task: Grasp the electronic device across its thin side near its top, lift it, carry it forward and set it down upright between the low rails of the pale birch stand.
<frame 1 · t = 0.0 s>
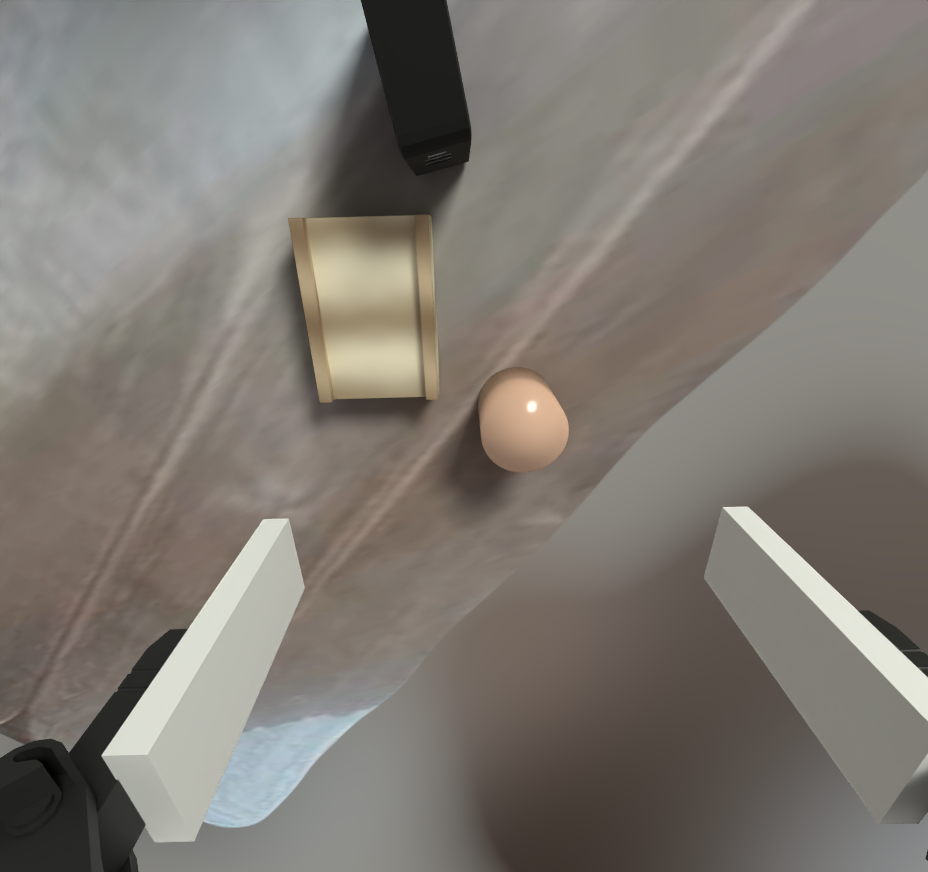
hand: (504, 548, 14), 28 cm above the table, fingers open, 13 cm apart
stand: (377, 308, 38), on the table
electronic device: (425, 92, 32), on the table
peach rounded cylinder: (514, 403, 42), on the table
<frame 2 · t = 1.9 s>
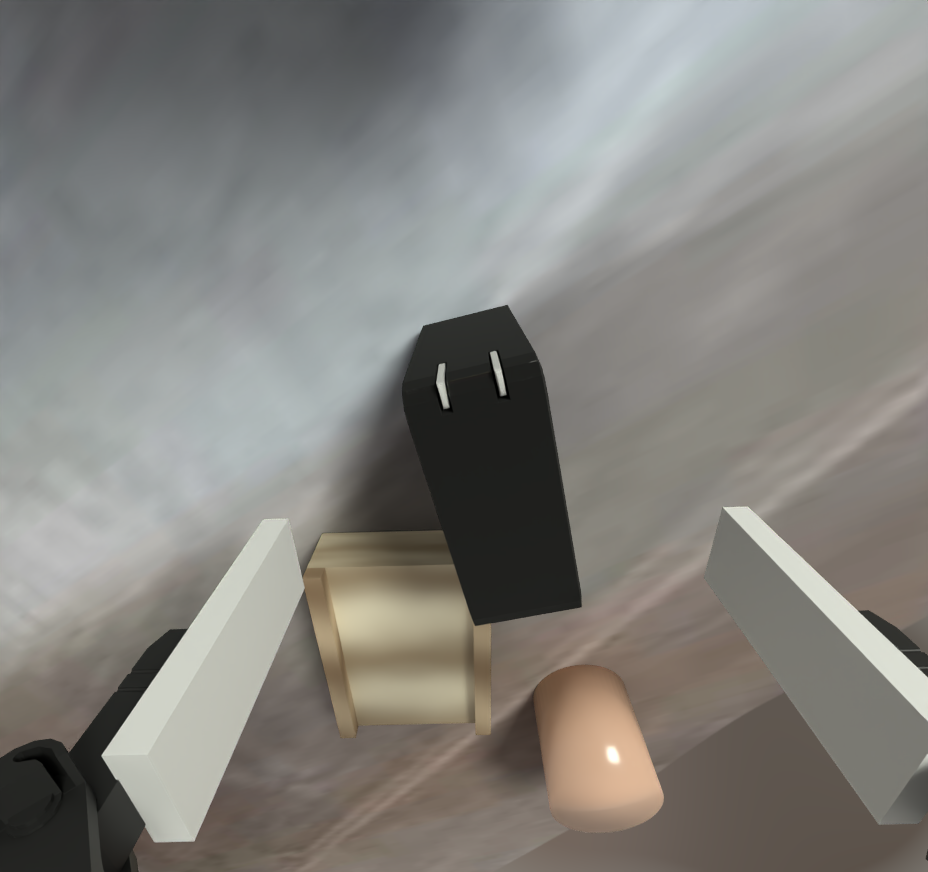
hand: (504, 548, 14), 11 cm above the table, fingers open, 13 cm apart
stand: (413, 614, 30), on the table
electronic device: (486, 404, 23), on the table
peach rounded cylinder: (579, 695, 34), on the table
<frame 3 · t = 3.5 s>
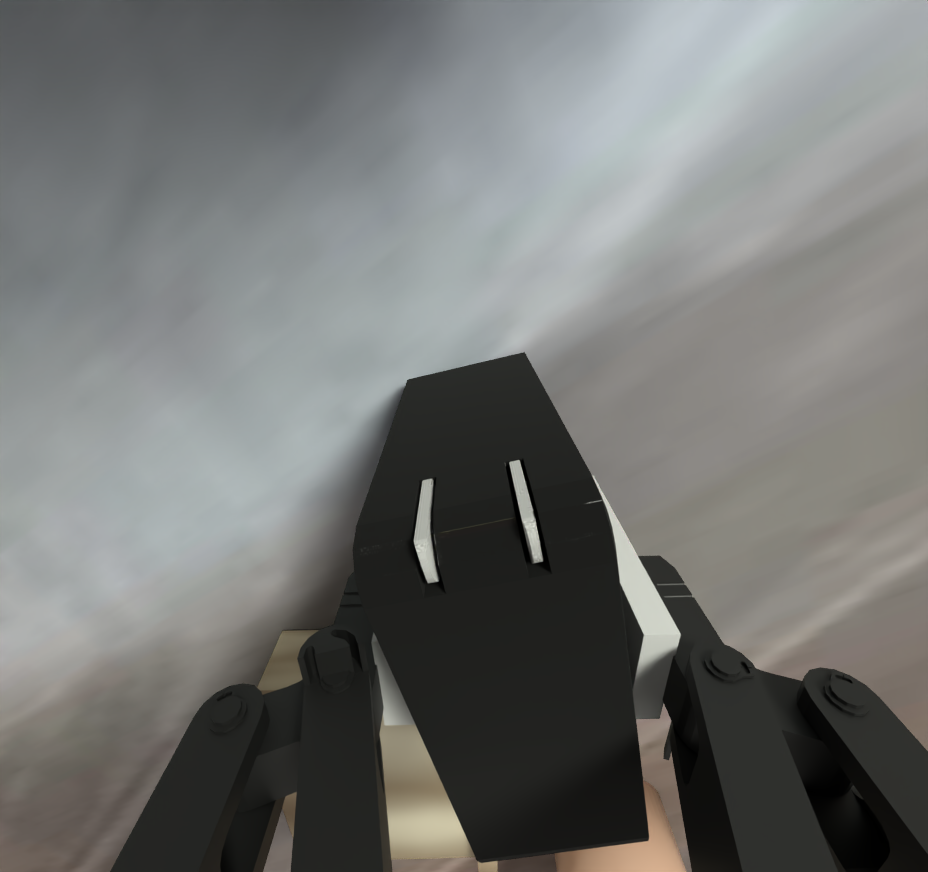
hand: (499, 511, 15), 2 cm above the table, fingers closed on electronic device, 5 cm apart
stand: (400, 721, 24), on the table
electronic device: (493, 476, 18), on the table, touching gripper
peach rounded cylinder: (603, 807, 28), on the table
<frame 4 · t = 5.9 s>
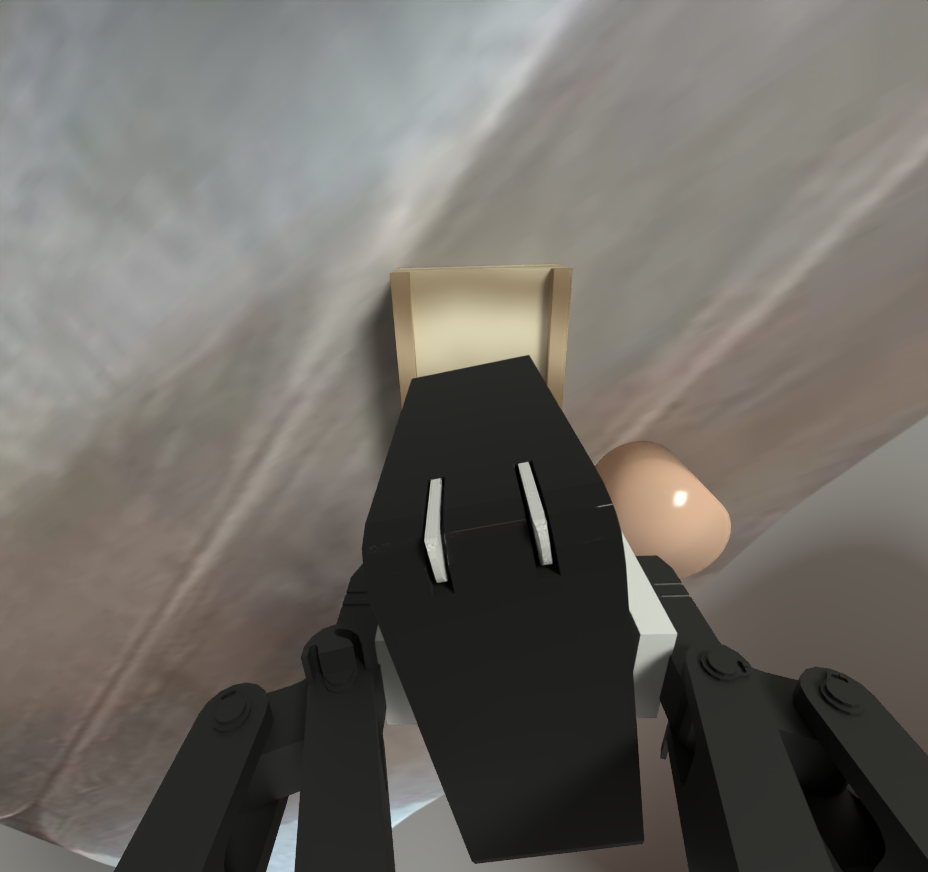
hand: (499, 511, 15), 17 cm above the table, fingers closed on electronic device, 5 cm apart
stand: (479, 374, 30), on the table
electronic device: (493, 477, 18), point 14 cm above the table, touching gripper
peach rounded cylinder: (634, 481, 34), on the table
when the fingers open (6 cm above the table, at t = 8.4 s): electronic device moves 1 cm, resting on stand.
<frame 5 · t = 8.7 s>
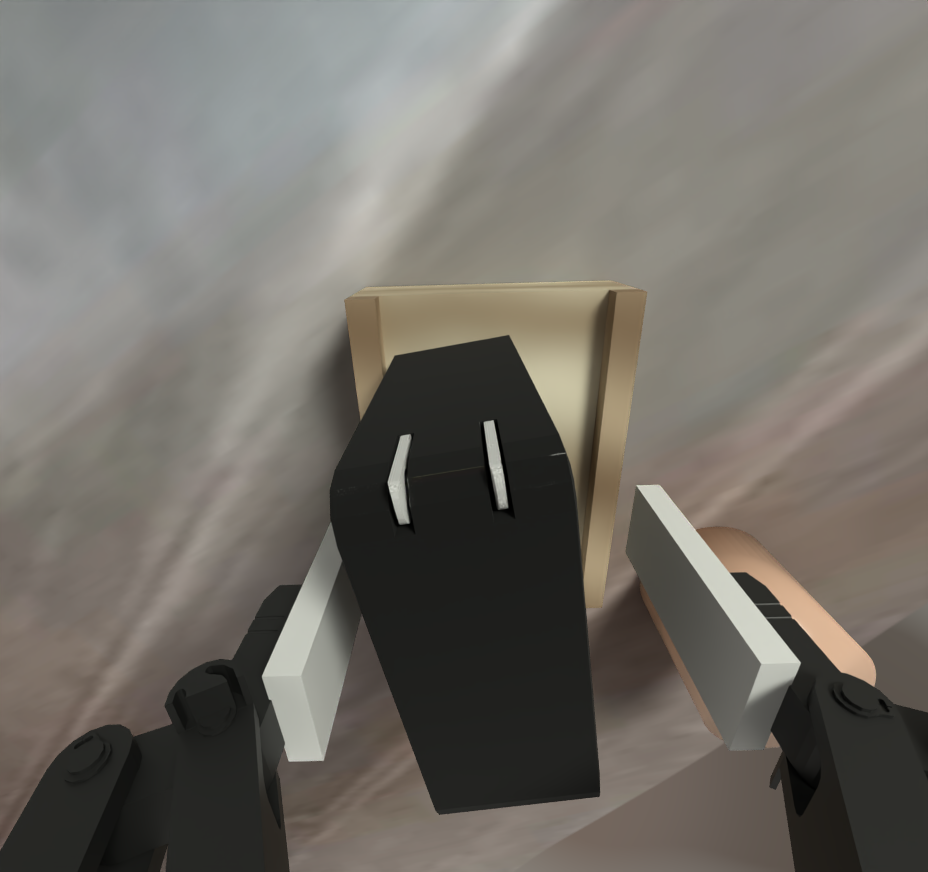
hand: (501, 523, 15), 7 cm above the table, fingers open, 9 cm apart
stand: (488, 438, 21), on the table
electronic device: (474, 457, 18), point 3 cm above the table, touching stand
peach rounded cylinder: (702, 577, 25), on the table
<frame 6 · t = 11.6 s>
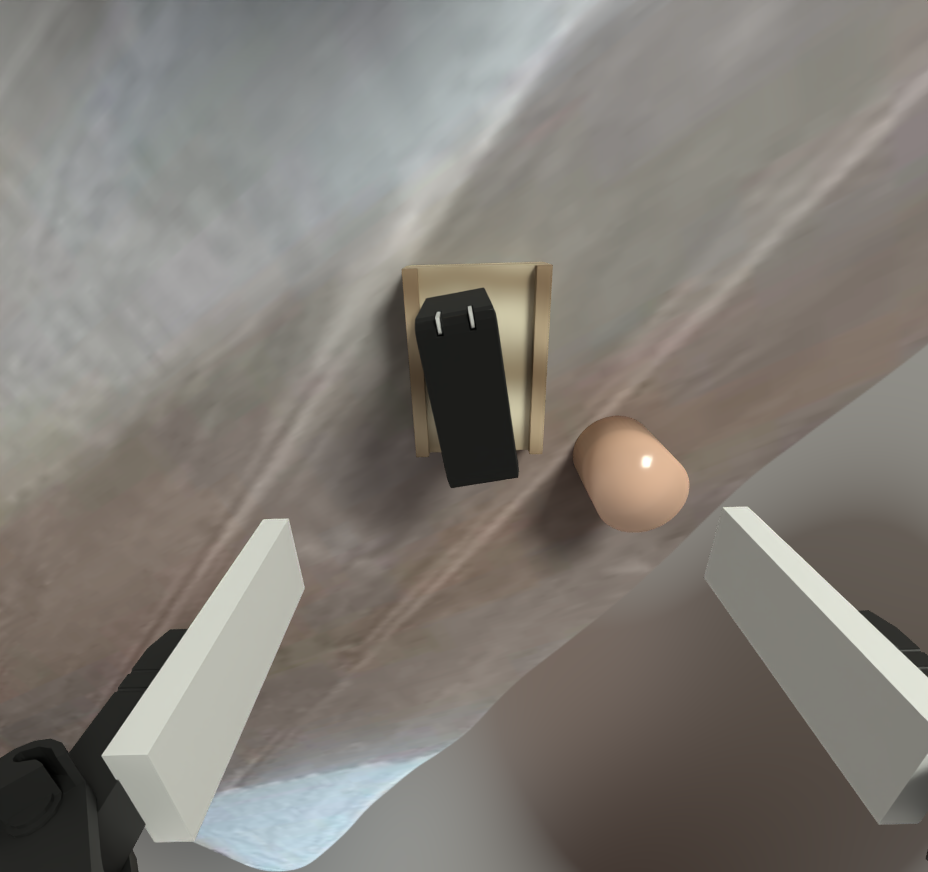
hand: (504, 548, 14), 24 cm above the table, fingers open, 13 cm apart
stand: (476, 356, 35), on the table
electronic device: (467, 360, 33), point 3 cm above the table, touching stand
peach rounded cylinder: (612, 452, 39), on the table
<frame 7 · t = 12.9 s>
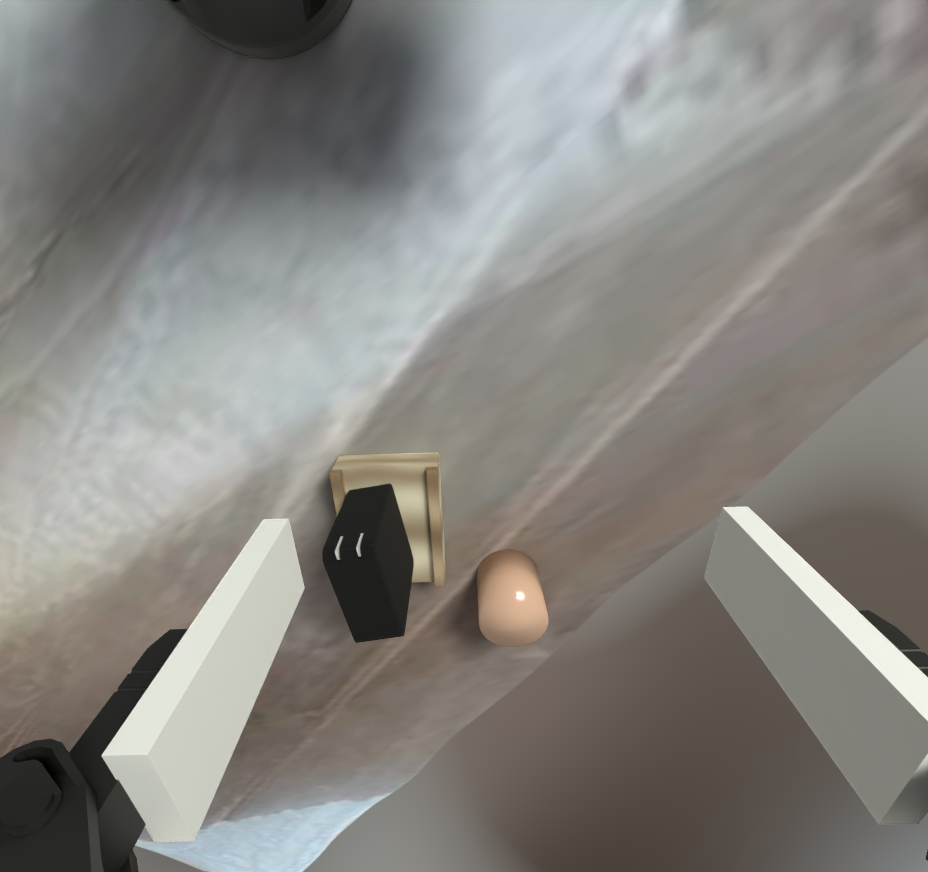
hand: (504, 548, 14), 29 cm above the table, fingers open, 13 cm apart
stand: (395, 512, 47), on the table
electronic device: (384, 524, 44), point 3 cm above the table, touching stand
peach rounded cylinder: (507, 573, 51), on the table
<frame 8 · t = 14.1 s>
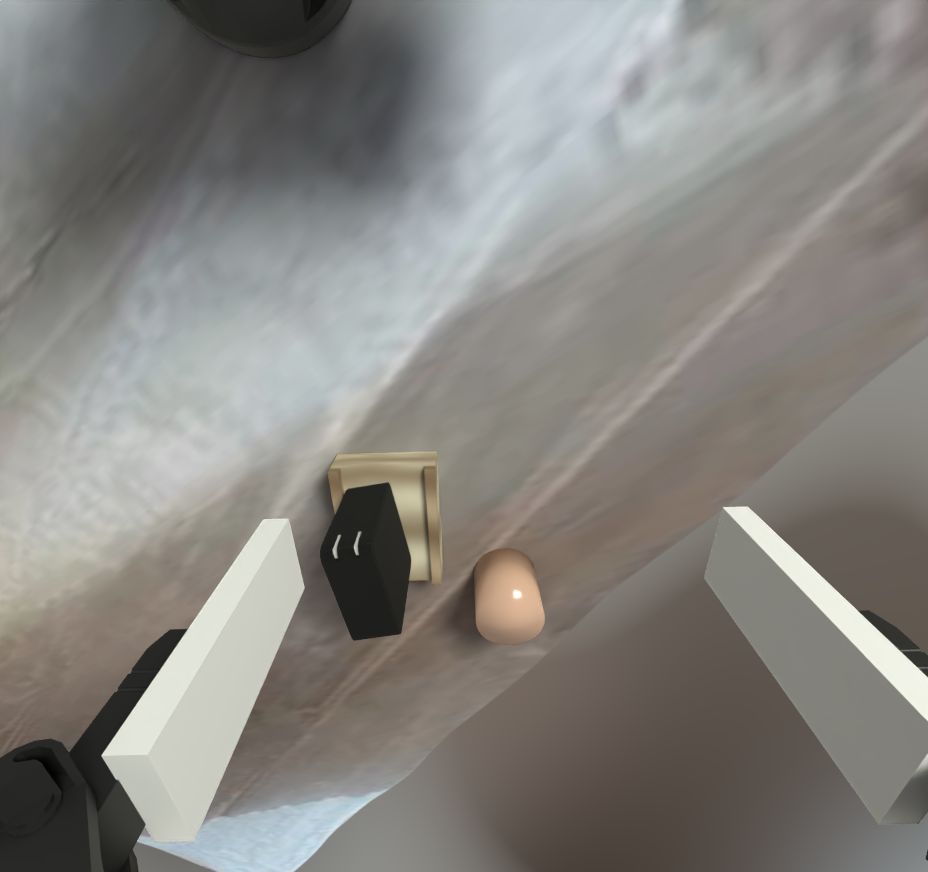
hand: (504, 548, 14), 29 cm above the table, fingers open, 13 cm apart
stand: (393, 510, 47), on the table
electronic device: (381, 522, 45), point 3 cm above the table, touching stand
peach rounded cylinder: (504, 572, 51), on the table
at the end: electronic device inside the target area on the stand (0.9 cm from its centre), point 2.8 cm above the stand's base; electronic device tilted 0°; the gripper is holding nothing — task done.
